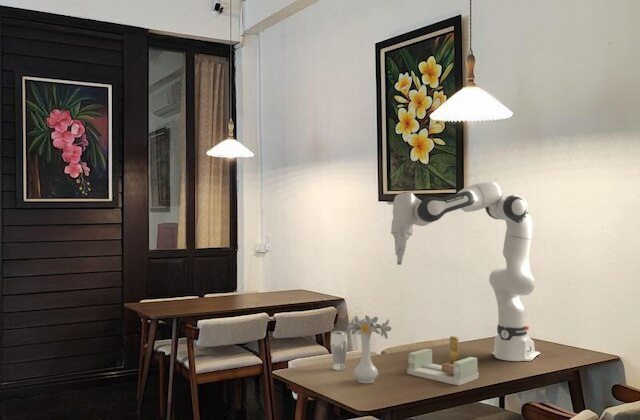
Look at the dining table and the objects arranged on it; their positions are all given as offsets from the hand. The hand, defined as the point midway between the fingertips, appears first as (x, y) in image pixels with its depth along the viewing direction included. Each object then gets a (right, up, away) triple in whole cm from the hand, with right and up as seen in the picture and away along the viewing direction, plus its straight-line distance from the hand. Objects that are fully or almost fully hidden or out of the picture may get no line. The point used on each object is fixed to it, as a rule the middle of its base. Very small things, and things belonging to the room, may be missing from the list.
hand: (399, 262), depth 267 cm
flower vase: (-15, -44, -18) cm, 50 cm away
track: (+16, -44, -11) cm, 48 cm away
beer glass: (-25, -44, +1) cm, 51 cm away
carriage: (+19, -41, -15) cm, 47 cm away
